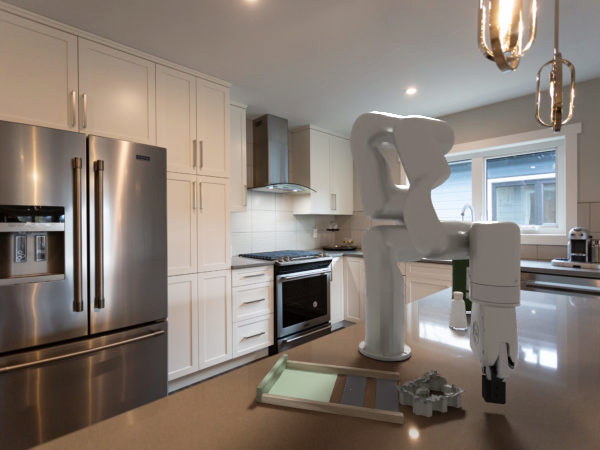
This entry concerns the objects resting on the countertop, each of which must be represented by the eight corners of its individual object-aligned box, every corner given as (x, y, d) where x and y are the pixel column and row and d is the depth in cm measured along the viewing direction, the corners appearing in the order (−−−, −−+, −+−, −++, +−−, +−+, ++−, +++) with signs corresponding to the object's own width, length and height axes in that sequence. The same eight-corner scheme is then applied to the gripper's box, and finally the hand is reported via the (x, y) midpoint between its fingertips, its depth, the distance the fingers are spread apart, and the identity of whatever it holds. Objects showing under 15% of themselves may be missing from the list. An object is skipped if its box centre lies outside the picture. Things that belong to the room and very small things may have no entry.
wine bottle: (475, 316, 114) (475, 230, 114) (450, 312, 118) (450, 230, 118) (476, 311, 121) (476, 230, 121) (452, 308, 125) (453, 230, 125)
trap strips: (347, 375, 69) (347, 374, 69) (396, 381, 66) (396, 380, 66) (338, 411, 55) (338, 410, 55) (399, 421, 53) (399, 419, 53)
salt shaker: (453, 330, 98) (454, 294, 98) (445, 325, 104) (445, 290, 104) (471, 330, 98) (471, 294, 98) (462, 325, 104) (462, 290, 104)
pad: (286, 368, 72) (286, 367, 72) (338, 374, 69) (338, 373, 69) (263, 400, 59) (263, 399, 59) (326, 410, 56) (326, 408, 56)
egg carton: (437, 389, 64) (437, 368, 64) (470, 409, 57) (470, 385, 57) (392, 398, 60) (392, 376, 60) (420, 421, 53) (420, 396, 53)
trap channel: (283, 364, 74) (283, 353, 74) (399, 378, 67) (399, 366, 67) (256, 401, 58) (256, 387, 58) (403, 424, 52) (403, 408, 52)
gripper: (460, 284, 64) (459, 378, 64) (482, 301, 49) (481, 423, 49) (503, 286, 62) (502, 383, 62) (539, 305, 47) (538, 431, 47)
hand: (493, 400), depth 56 cm, fingers closed
